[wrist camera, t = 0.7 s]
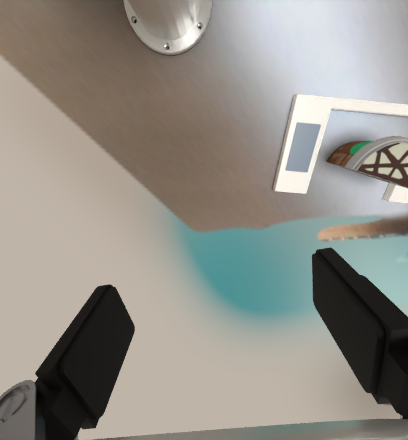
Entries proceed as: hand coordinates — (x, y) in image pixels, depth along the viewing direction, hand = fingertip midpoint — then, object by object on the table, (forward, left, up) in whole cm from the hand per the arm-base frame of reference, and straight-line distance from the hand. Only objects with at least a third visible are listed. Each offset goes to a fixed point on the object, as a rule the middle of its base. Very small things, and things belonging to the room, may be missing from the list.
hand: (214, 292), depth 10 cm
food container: (-5, +27, -33) cm, 43 cm away
